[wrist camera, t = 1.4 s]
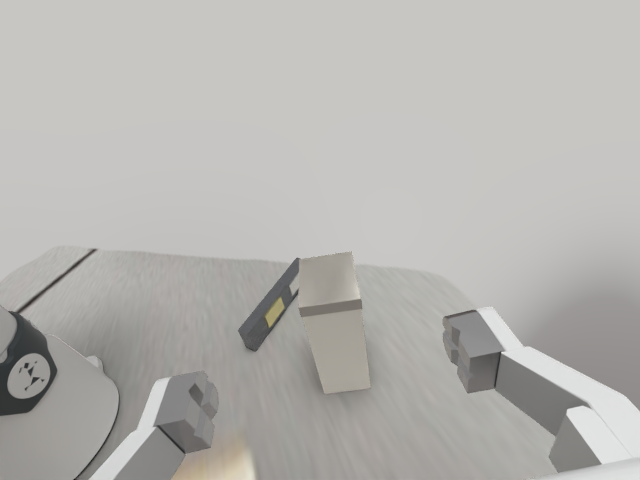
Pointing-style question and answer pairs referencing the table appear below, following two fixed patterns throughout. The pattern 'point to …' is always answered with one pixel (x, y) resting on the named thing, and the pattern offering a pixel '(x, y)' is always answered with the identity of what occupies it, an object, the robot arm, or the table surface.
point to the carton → (334, 321)
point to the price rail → (271, 308)
